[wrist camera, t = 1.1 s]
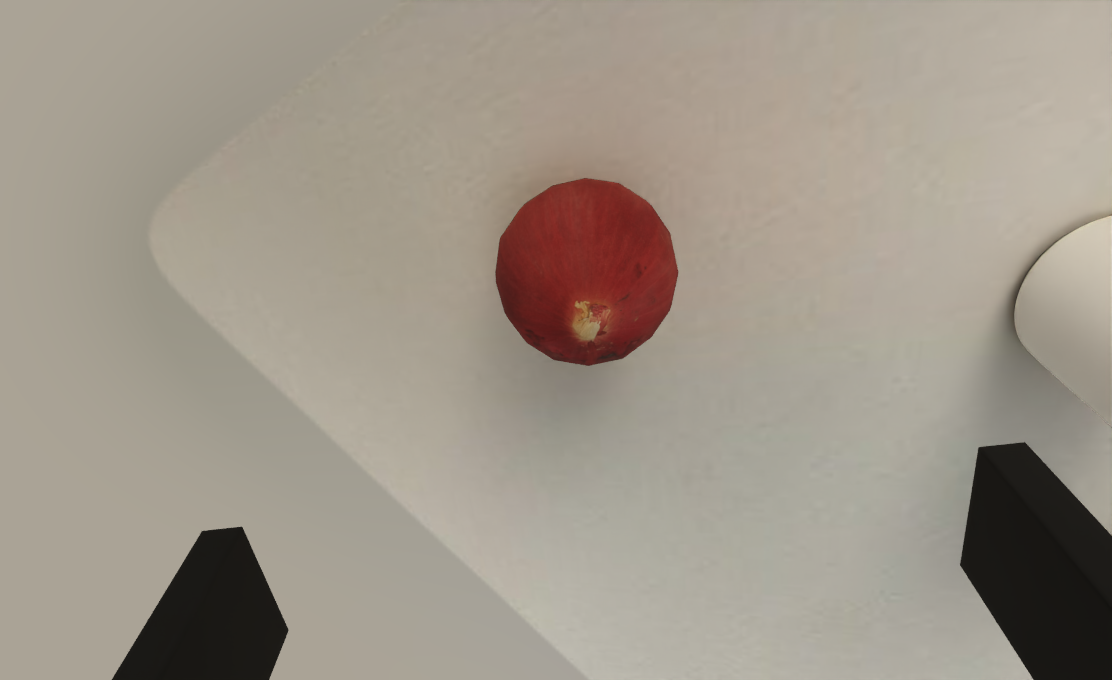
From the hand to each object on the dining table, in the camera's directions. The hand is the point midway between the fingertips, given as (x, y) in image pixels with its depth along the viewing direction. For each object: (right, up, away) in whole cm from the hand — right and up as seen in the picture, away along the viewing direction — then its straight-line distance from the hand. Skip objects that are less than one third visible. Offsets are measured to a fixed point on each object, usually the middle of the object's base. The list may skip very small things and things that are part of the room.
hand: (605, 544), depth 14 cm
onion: (0, +8, +14) cm, 16 cm away
